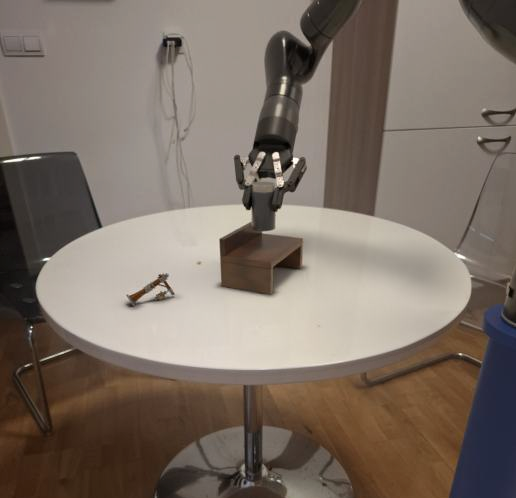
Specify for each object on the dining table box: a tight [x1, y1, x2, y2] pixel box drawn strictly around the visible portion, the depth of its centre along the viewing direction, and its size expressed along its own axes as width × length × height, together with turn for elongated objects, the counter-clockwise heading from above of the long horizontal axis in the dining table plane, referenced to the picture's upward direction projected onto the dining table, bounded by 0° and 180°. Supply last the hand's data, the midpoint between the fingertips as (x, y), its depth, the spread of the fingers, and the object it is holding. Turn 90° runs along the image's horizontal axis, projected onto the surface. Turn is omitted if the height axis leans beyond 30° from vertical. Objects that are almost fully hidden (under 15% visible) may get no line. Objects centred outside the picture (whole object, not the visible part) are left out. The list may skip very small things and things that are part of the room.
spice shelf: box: [218, 220, 304, 296], centre depth 94 cm, size 10×16×9 cm, turn 155°
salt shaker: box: [250, 181, 277, 232], centre depth 89 cm, size 4×4×8 cm
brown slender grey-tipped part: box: [125, 272, 175, 307], centre depth 85 cm, size 2×8×4 cm, turn 117°
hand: (260, 208), depth 88 cm, fingers closed on salt shaker, 4 cm apart
